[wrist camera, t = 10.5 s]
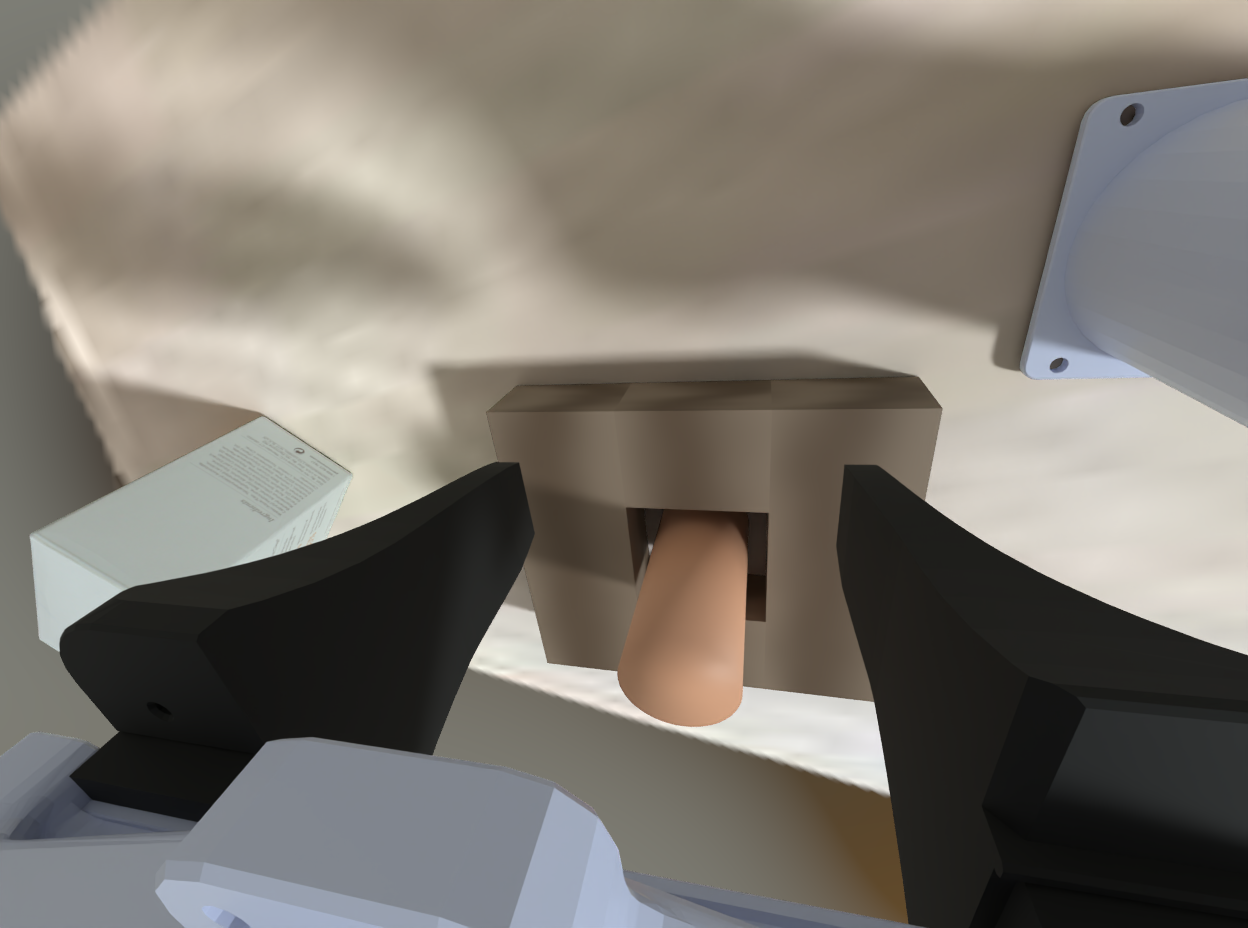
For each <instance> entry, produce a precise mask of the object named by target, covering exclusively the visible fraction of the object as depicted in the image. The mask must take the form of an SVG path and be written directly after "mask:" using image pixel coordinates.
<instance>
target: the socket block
mask: <svg viewBox="0 0 1248 928" xmlns="http://www.w3.org/2000/svg"><path fill="white" fill-rule="evenodd" d="M942 409H943V408H942V407H941V406H940V404H939V403H938V402H937V400H936V399H935V398H934V396H933V395H932V394H931V392H930V391H929V390H928V388H927V387H926V386H925V384H924V383H923V382H922V380H921V379H920V378H919V377H885V378H840V379H796V380H751V381H706V382H662V383H617V384H573V385H528V386H516V387H515V388H514V389H513V390H511V391H510V392H509V393H508V394H507V395H506V396H504V397H503V398H502V399H501V400H500V401H499V402H498V403H496V404H495V405H494V406H493V407H492V408H491V409H490V410H488V411H487V412H486V414H487V418H488V422H489V426H490V430H491V434H492V438H493V442H494V446H495V450H496V454H497V458H498V462H519V464H520V468H521V473H522V477H523V482H524V486H525V491H526V495H527V500H528V504H529V509H530V513H531V518H532V522H533V527H534V531H535V535H534V538H533V540H532V543H531V546H530V549H529V552H528V554H527V557H526V559H525V562H524V564H523V565H524V569H525V573H526V577H527V581H528V585H529V589H530V593H531V597H532V601H533V605H534V609H535V614H536V618H537V622H538V626H539V630H540V634H541V638H542V642H543V646H544V650H545V654H546V658H547V663H552V664H560V665H569V666H577V667H586V668H594V669H602V670H611V671H618V666H619V663H620V659H621V656H622V652H623V649H624V645H625V642H626V638H627V635H628V632H629V628H630V625H631V621H632V618H633V614H634V611H635V607H636V604H637V601H638V597H639V594H640V590H641V587H642V583H643V580H644V576H645V573H646V570H647V566H648V563H649V550H648V540H647V531H646V521H645V511H644V508H657V509H683V510H709V511H735V512H761V513H767V541H766V576H758V575H747V588H746V614H745V640H744V666H743V686H745V687H754V688H762V689H770V690H779V691H787V692H796V693H804V694H812V695H821V696H829V697H838V698H846V699H854V700H863V701H871V702H874V699H873V694H872V690H871V686H870V682H869V678H868V675H867V672H866V668H865V665H864V661H863V658H862V654H861V651H860V648H859V644H858V641H857V637H856V634H855V631H854V627H853V624H852V620H851V617H850V613H849V610H848V606H847V603H846V599H845V596H844V592H843V589H842V584H841V577H840V571H839V564H838V556H837V549H836V542H837V532H838V523H839V513H840V503H841V493H842V484H843V474H844V464H847V465H878V466H880V467H881V468H882V469H884V470H885V471H886V472H888V473H889V474H890V475H892V476H893V477H894V478H896V479H897V480H898V481H899V482H901V483H902V484H903V485H904V486H906V487H907V488H908V489H910V490H911V491H912V492H913V493H915V494H916V495H917V496H919V497H920V498H921V499H923V500H924V501H925V497H926V492H927V487H928V482H929V476H930V471H931V466H932V461H933V456H934V450H935V445H936V440H937V435H938V430H939V424H940V419H941V414H942Z"/></svg>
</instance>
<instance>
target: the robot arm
mask: <svg viewBox="0 0 1248 928" xmlns="http://www.w3.org/2000/svg"><path fill="white" fill-rule="evenodd" d="M1129 105H1133V107H1134V108H1135V116H1134V118H1133V120H1132V121H1131V122H1130V123H1129V124H1128V125H1126V126H1123V125H1122V124H1121V122H1120V116H1121V114H1122V112H1123V110H1124V109H1125V108H1126V107H1128V106H1129ZM1057 358H1063V362H1062V364H1061V365H1060V366H1059V367H1057V368H1055V369H1050V364H1051V362H1052V361H1054V360H1055V359H1057ZM1020 370H1021V371H1022V373H1023V374H1024V375H1026V376H1027V377H1029V378H1030V379H1036V380H1042V379H1091V378H1141V377H1153V378H1155V379H1157V380H1159V381H1161V382H1163V383H1165V384H1166V385H1168V386H1170V387H1172V388H1174V389H1176V390H1178V391H1180V392H1182V393H1183V394H1185V395H1187V396H1189V397H1191V398H1193V399H1195V400H1197V401H1198V402H1200V403H1202V404H1204V405H1206V406H1208V407H1210V408H1212V409H1214V410H1215V411H1217V412H1219V413H1221V414H1223V415H1225V416H1227V417H1229V418H1230V419H1232V420H1234V421H1236V422H1238V423H1240V424H1242V425H1244V426H1246V427H1247V428H1248V78H1245V79H1237V80H1230V81H1222V82H1215V83H1207V84H1199V85H1192V86H1184V87H1177V88H1169V89H1161V90H1154V91H1146V92H1139V93H1131V94H1123V95H1116V96H1111V97H1107V98H1104V99H1101V100H1099V101H1097V102H1096V103H1094V104H1093V105H1092V106H1091V107H1090V108H1089V109H1088V110H1087V111H1086V113H1085V115H1084V117H1083V119H1082V121H1081V125H1080V129H1079V133H1078V137H1077V141H1076V145H1075V149H1074V153H1073V157H1072V161H1071V165H1070V169H1069V172H1068V176H1067V180H1066V184H1065V188H1064V192H1063V196H1062V200H1061V204H1060V208H1059V212H1058V216H1057V219H1056V223H1055V227H1054V231H1053V235H1052V239H1051V243H1050V247H1049V251H1048V255H1047V259H1046V263H1045V267H1044V270H1043V274H1042V278H1041V282H1040V286H1039V290H1038V294H1037V298H1036V302H1035V306H1034V310H1033V314H1032V317H1031V321H1030V325H1029V329H1028V333H1027V337H1026V341H1025V345H1024V349H1023V353H1022V357H1021V361H1020ZM534 535H535V531H534V527H533V522H532V518H531V513H530V509H529V504H528V500H527V495H526V491H525V486H524V482H523V477H522V473H521V468H520V464H519V462H495V463H492V464H489V465H486V466H484V467H482V468H480V469H477V470H475V471H473V472H471V473H469V474H467V475H465V476H463V477H461V478H459V479H457V480H455V481H453V482H451V483H450V484H448V485H446V486H444V487H442V488H440V489H438V490H436V491H434V492H432V493H430V494H428V495H426V496H424V497H422V498H420V499H418V500H416V501H414V502H412V503H410V504H408V505H406V506H404V507H402V508H400V509H398V510H396V511H393V512H391V513H389V514H387V515H385V516H383V517H381V518H378V519H376V520H374V521H372V522H369V523H367V524H365V525H362V526H360V527H357V528H355V529H352V530H349V531H347V532H344V533H342V534H339V535H337V536H334V537H331V538H328V539H325V540H322V541H319V542H316V543H313V544H310V545H307V546H304V547H301V548H298V549H294V550H291V551H288V552H285V553H282V554H279V555H275V556H272V557H268V558H264V559H260V560H257V561H253V562H249V563H245V564H241V565H237V566H233V567H229V568H225V569H220V570H216V571H211V572H207V573H202V574H197V575H191V576H186V577H181V578H176V579H170V580H165V581H160V582H155V583H149V584H143V585H137V586H134V587H131V588H128V589H126V590H124V591H122V592H120V593H118V594H117V595H115V596H114V597H112V598H111V599H109V600H108V601H106V602H105V603H103V604H102V605H100V606H99V607H97V608H96V609H94V610H93V611H91V612H90V613H88V614H87V615H85V616H84V617H82V618H81V619H79V620H78V621H76V622H75V623H73V624H72V625H70V626H69V627H67V628H66V629H65V630H64V632H63V633H62V635H61V637H60V642H59V648H60V656H61V658H62V661H63V663H64V665H65V667H66V669H67V670H68V672H69V673H70V675H71V676H72V677H73V679H74V680H75V682H76V683H77V684H78V685H79V686H80V688H81V689H82V690H83V691H84V692H85V693H86V694H87V695H88V697H89V698H90V699H91V701H92V702H93V703H94V704H95V705H96V706H97V707H98V709H99V710H100V711H101V712H102V713H103V715H104V716H105V717H106V718H107V719H108V720H109V722H110V723H111V724H112V725H113V726H114V728H115V729H116V730H117V731H120V732H118V734H116V735H115V736H114V737H113V738H112V739H111V740H109V741H108V742H107V743H106V744H105V745H104V746H103V747H101V748H99V747H97V746H95V745H93V744H92V743H90V742H88V741H85V740H82V739H79V738H73V737H68V736H62V735H56V734H50V733H45V732H34V733H30V734H28V735H27V736H26V737H25V738H23V739H22V740H21V741H20V742H18V743H17V744H15V745H14V746H13V747H12V748H10V749H9V750H8V751H6V752H5V753H4V754H3V755H1V756H0V928H1248V655H1245V654H1242V653H1239V652H1236V651H1233V650H1229V649H1226V648H1223V647H1220V646H1217V645H1214V644H1211V643H1208V642H1205V641H1202V640H1199V639H1197V638H1194V637H1191V636H1189V635H1186V634H1183V633H1181V632H1178V631H1175V630H1173V629H1170V628H1167V627H1164V626H1162V625H1159V624H1156V623H1154V622H1151V621H1148V620H1146V619H1143V618H1141V617H1138V616H1136V615H1133V614H1131V613H1128V612H1126V611H1123V610H1121V609H1119V608H1116V607H1114V606H1111V605H1109V604H1106V603H1104V602H1102V601H1100V600H1097V599H1095V598H1093V597H1091V596H1088V595H1086V594H1084V593H1082V592H1080V591H1077V590H1075V589H1073V588H1071V587H1069V586H1066V585H1064V584H1062V583H1060V582H1058V581H1056V580H1054V579H1052V578H1050V577H1048V576H1046V575H1043V574H1041V573H1039V572H1037V571H1036V570H1034V569H1032V568H1030V567H1028V566H1026V565H1024V564H1023V563H1021V562H1019V561H1017V560H1015V559H1013V558H1012V557H1010V556H1008V555H1006V554H1004V553H1002V552H1001V551H999V550H997V549H995V548H994V547H992V546H990V545H989V544H987V543H985V542H984V541H982V540H981V539H979V538H978V537H976V536H974V535H973V534H971V533H970V532H968V531H967V530H965V529H964V528H962V527H961V526H959V525H957V524H956V523H954V522H953V521H952V520H950V519H949V518H947V517H946V516H944V515H943V514H942V513H940V512H939V511H937V510H936V509H935V508H933V507H932V506H931V505H929V504H928V503H927V502H925V501H924V500H923V499H921V498H920V497H919V496H917V495H916V494H915V493H913V492H912V491H911V490H910V489H908V488H907V487H906V486H904V485H903V484H902V483H901V482H899V481H898V480H897V479H896V478H894V477H893V476H892V475H890V474H889V473H888V472H886V471H885V470H884V469H882V468H881V467H880V466H878V465H847V464H844V474H843V484H842V493H841V503H840V513H839V523H838V532H837V542H836V549H837V556H838V564H839V571H840V577H841V584H842V589H843V592H844V596H845V599H846V603H847V606H848V610H849V613H850V617H851V620H852V624H853V627H854V631H855V634H856V637H857V641H858V644H859V648H860V651H861V654H862V658H863V661H864V665H865V668H866V672H867V675H868V678H869V682H870V686H871V690H872V694H873V699H874V703H875V708H876V714H877V719H878V725H879V731H880V736H881V742H882V748H883V753H884V760H885V766H886V772H887V778H888V784H889V790H890V796H891V803H892V809H893V816H894V823H895V829H896V836H897V843H898V850H899V856H900V863H901V870H902V877H903V884H904V892H905V900H906V908H907V915H908V923H909V924H904V923H899V922H894V921H889V920H883V919H878V918H873V917H867V916H863V915H857V914H852V913H847V912H841V911H836V910H831V909H825V908H821V907H815V906H810V905H805V904H800V903H794V902H789V901H784V900H779V899H774V898H769V897H763V896H758V895H753V894H748V893H743V892H737V891H732V890H727V889H722V888H716V887H711V886H706V885H700V884H695V883H690V882H685V881H679V880H675V879H669V878H664V877H659V876H654V875H649V874H643V873H638V872H633V871H628V870H622V865H621V860H620V855H619V850H618V848H617V846H616V844H615V843H614V841H613V840H612V838H611V836H610V834H609V833H608V831H607V830H606V828H605V826H604V825H603V823H602V822H601V820H600V819H599V817H598V815H597V814H596V812H595V810H594V809H593V808H592V807H591V806H590V805H588V804H586V803H585V802H584V801H582V800H581V799H579V798H578V797H576V796H574V795H573V794H572V793H570V792H569V791H567V790H566V789H564V788H563V787H561V786H560V785H558V784H557V783H555V782H554V781H551V780H547V779H544V778H541V777H538V776H535V775H531V774H528V773H525V772H522V771H519V770H515V769H512V768H509V767H505V766H498V765H491V764H485V763H478V762H472V761H465V760H459V759H452V758H445V757H439V756H433V752H434V749H435V746H436V744H437V741H438V738H439V736H440V734H441V731H442V728H443V726H444V723H445V721H446V718H447V716H448V713H449V711H450V708H451V706H452V703H453V701H454V698H455V695H456V694H457V691H458V689H459V687H460V684H461V682H462V680H463V677H464V675H465V673H466V670H467V668H468V666H469V663H470V661H471V659H472V657H473V655H474V653H475V651H476V650H477V648H478V646H479V644H480V642H481V640H482V638H483V637H484V635H485V633H486V631H487V630H488V628H489V626H490V624H491V623H492V621H493V619H494V617H495V616H496V614H497V612H498V610H499V609H500V607H501V605H502V603H503V602H504V600H505V598H506V596H507V595H508V593H509V591H510V589H511V587H512V586H513V584H514V582H515V580H516V578H517V576H518V575H519V573H520V571H521V569H522V567H523V564H524V562H525V559H526V557H527V554H528V552H529V549H530V546H531V543H532V540H533V538H534Z"/></svg>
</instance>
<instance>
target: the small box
mask: <svg viewBox="0 0 1248 928" xmlns="http://www.w3.org/2000/svg"><path fill="white" fill-rule="evenodd" d="M351 479H352V474H351V473H350V472H348V471H347V470H345V469H344V468H342V467H341V466H339V465H338V464H336V463H335V462H333V461H332V460H330V459H329V458H327V457H325V456H324V455H322V454H321V453H319V452H318V451H316V450H315V449H313V448H312V447H310V446H309V445H307V444H306V443H304V442H303V441H301V440H299V439H298V438H296V437H295V436H293V435H292V434H290V433H289V432H287V431H286V430H284V429H283V428H281V427H280V426H278V425H277V424H275V423H274V422H272V421H270V420H269V419H267V418H266V417H263V416H261V417H259V418H257V419H255V420H253V421H251V422H249V423H247V424H245V425H243V426H241V427H239V428H237V429H235V430H233V431H231V432H229V433H227V434H225V435H223V436H221V437H219V438H217V439H216V440H213V441H211V442H209V443H207V444H205V445H203V446H201V447H199V448H198V449H196V450H194V451H192V452H190V453H188V454H186V455H184V456H182V457H180V458H178V459H176V460H174V461H172V462H170V463H168V464H166V465H164V466H162V467H160V468H158V469H156V470H155V471H153V472H151V473H149V474H147V475H145V476H143V477H141V478H139V479H137V480H135V481H133V482H131V483H129V484H127V485H125V486H123V487H121V488H119V489H117V490H115V491H113V492H111V493H109V494H107V495H105V496H103V497H101V498H100V499H97V500H96V501H94V502H92V503H90V504H88V505H86V506H84V507H82V508H80V509H78V510H76V511H74V512H72V513H70V514H68V515H66V516H64V517H62V518H60V519H58V520H56V521H54V522H52V523H51V524H49V525H47V526H45V527H43V528H41V529H39V530H37V531H35V532H33V533H31V534H30V540H31V552H32V562H33V575H34V585H35V596H36V609H37V619H38V632H39V639H40V640H41V641H43V642H45V643H46V644H48V645H49V646H51V647H52V648H54V649H56V650H57V651H59V652H60V648H59V642H60V637H61V635H62V633H63V632H64V630H65V629H66V628H67V627H69V626H70V625H72V624H73V623H75V622H76V621H78V620H79V619H81V618H82V617H84V616H85V615H87V614H88V613H90V612H91V611H93V610H94V609H96V608H97V607H99V606H100V605H102V604H103V603H105V602H106V601H108V600H109V599H111V598H112V597H114V596H115V595H117V594H118V593H120V592H122V591H124V590H126V589H128V588H131V587H134V586H137V585H143V584H149V583H155V582H160V581H165V580H170V579H176V578H181V577H186V576H191V575H197V574H202V573H207V572H211V571H216V570H220V569H225V568H229V567H233V566H237V565H241V564H245V563H249V562H253V561H257V560H260V559H264V558H268V557H272V556H275V555H279V554H282V553H285V552H288V551H291V550H294V549H298V548H301V547H304V546H307V545H310V544H313V543H316V542H319V541H322V540H325V539H326V538H327V536H328V534H329V531H330V529H331V526H332V524H333V521H334V519H335V517H336V514H337V512H338V510H339V507H340V505H341V502H342V500H343V497H344V495H345V493H346V490H347V488H348V485H349V483H350V481H351Z"/></svg>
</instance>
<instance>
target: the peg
mask: <svg viewBox="0 0 1248 928" xmlns="http://www.w3.org/2000/svg"><path fill="white" fill-rule="evenodd" d="M748 536H749V520H748V516H747V513H746V512H735V511H709V510H683V509H664V511H663V514H662V518H661V521H660V525H659V528H658V532H657V535H656V539H655V542H654V545H653V549H652V552H651V556H650V559H649V563H648V566H647V570H646V573H645V576H644V580H643V583H642V587H641V590H640V594H639V597H638V601H637V604H636V607H635V611H634V614H633V618H632V621H631V625H630V628H629V632H628V635H627V638H626V642H625V645H624V649H623V652H622V656H621V659H620V663H619V666H618V673H617V674H618V681H619V684H620V687H621V689H622V691H623V692H624V694H625V695H626V697H627V698H628V699H629V700H630V701H631V702H632V703H633V704H634V705H635V706H636V707H638V708H639V709H640V710H642V711H643V712H645V713H646V714H648V715H650V716H652V717H654V718H656V719H658V720H661V721H664V722H667V723H670V724H675V725H680V726H689V727H700V726H708V725H713V724H716V723H719V722H721V721H723V720H725V719H727V718H728V717H730V716H731V715H732V714H733V713H735V711H736V710H737V709H738V707H739V705H740V703H741V700H742V692H743V666H744V640H745V614H746V588H747V562H748Z"/></svg>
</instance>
